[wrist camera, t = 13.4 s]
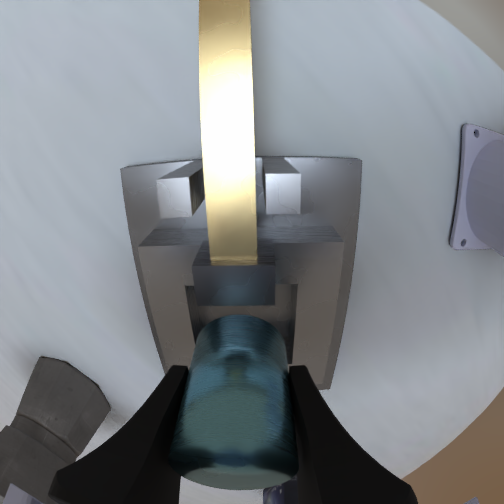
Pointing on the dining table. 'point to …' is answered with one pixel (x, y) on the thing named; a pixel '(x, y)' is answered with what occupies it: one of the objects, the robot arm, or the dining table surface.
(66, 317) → the dining table surface
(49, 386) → the coffeepot
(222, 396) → the teal glass cylinder
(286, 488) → the small box
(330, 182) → the dock
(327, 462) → the robot arm
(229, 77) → the pin
